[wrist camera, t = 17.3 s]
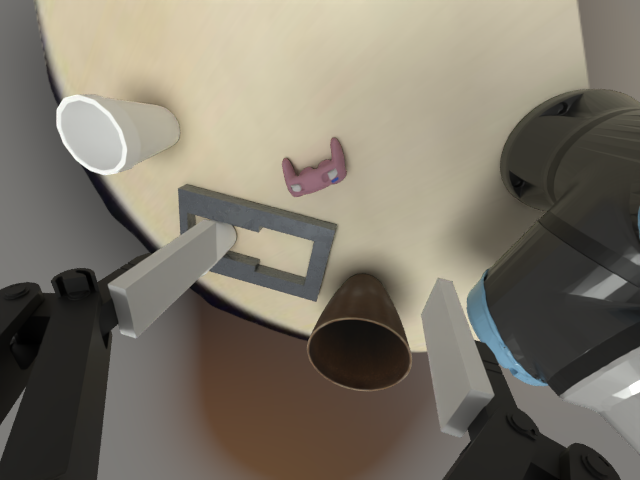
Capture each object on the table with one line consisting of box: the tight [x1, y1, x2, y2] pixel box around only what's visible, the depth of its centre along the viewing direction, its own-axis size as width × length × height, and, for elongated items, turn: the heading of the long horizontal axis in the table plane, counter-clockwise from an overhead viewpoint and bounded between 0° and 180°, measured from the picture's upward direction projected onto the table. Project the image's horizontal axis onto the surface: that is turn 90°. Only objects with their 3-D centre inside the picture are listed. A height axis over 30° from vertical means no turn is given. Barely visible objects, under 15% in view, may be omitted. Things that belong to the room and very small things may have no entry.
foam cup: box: [57, 94, 180, 175], centre depth 40 cm, size 10×9×13 cm
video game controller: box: [282, 138, 347, 197], centre depth 42 cm, size 10×5×7 cm, turn 113°
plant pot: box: [307, 274, 412, 391], centre depth 47 cm, size 15×15×16 cm
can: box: [200, 219, 237, 277], centre depth 48 cm, size 6×6×12 cm
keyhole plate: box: [178, 184, 337, 302], centre depth 52 cm, size 28×16×2 cm, turn 78°
